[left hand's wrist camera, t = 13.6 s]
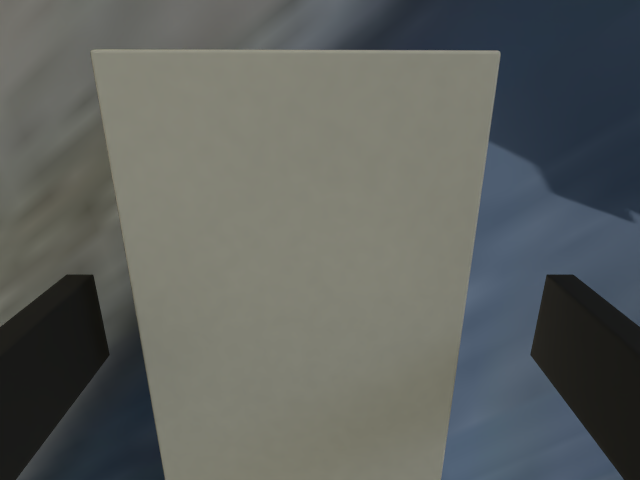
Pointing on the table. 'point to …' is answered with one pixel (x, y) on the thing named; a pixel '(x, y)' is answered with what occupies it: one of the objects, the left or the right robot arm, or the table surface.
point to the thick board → (298, 250)
